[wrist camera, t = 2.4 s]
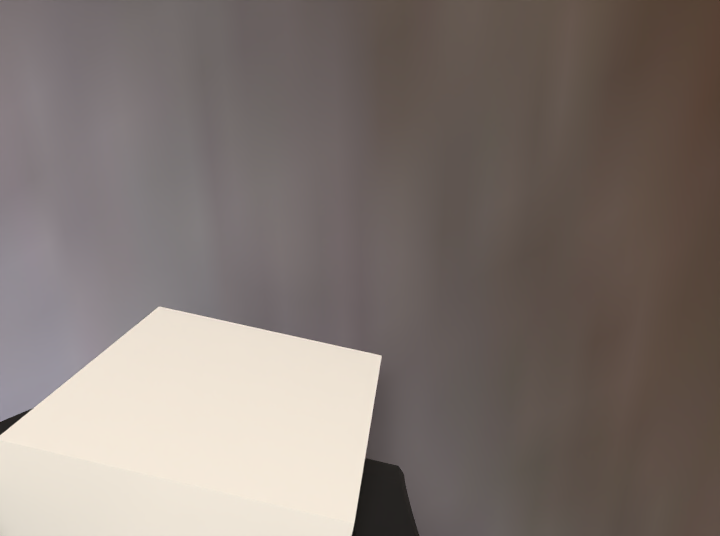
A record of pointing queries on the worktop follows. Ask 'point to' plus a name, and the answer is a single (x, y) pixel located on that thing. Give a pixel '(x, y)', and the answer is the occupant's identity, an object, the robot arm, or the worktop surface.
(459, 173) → the worktop surface
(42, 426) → the cube
